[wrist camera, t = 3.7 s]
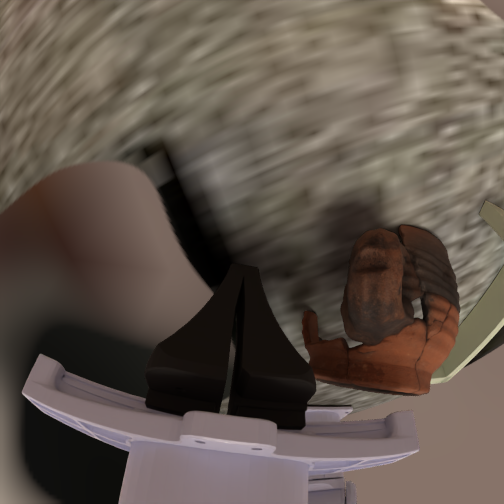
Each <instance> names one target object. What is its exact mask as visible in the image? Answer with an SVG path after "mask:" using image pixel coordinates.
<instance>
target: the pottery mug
mask: <svg viewBox="0 0 504 504" xmlns="http://www.w3.org/2000/svg"><path fill="white" fill-rule="evenodd" d="M399 235H400V237H401V239H402V244H401V243H400V241H399V238H398V236H397V235H396V234H395V233H393V232H390V231H387V230H385V229H383V228H379V229H376V230H369V231H366V232H365V233H364V234H363V235H362V236H361V237H360V238H359V239H358V240H357V241H356V243H355V245H354V247H353V250H352V253H351V257H350V260H349V271H348V278H347V284H346V286H345V290H344V297H343V302H342V304H341V315H342V318H343V322H344V329H345V332H346V334H347V335H348V337H349V338H351V339H352V340H354V341H358V342H362V343H363V344H361V345H358V346H355V347H352V348H349V346H348V344H347V342H346V340H345V339H344V338H337V339H333V340H322V339H321V338H320V337H319V336H318V324H317V315H316V314H315V313H313V312H310V311H305V312H304V318H303V320H302V325H303V330H302V334H303V338H304V343H305V348H306V349H307V351H308V353H309V355H310V361H309V365H310V366H311V367H312V369H313V373H314V377H315V379H316V380H318V381H320V382H323V383H327V384H333V385H336V386H340V387H346V388H352V389H357V390H362V391H368V392H375V393H383V394H392V395H403V396H419V395H422V394H427V393H429V390H430V382H431V377H432V374H433V373H434V372H435V371H436V370H437V369H438V368H439V367H440V366H441V365H442V363H443V362H444V361H445V360H446V359H447V357H448V356H449V354H450V351H451V350H452V348H453V347H454V345H455V342H456V341H455V339H456V336H457V334H458V332H459V330H458V322H459V313H460V305H459V294H458V292H457V287H458V286H457V284H456V276H455V274H454V272H453V269H452V267H451V264H450V261H449V259H448V253H447V250H446V248H445V247H444V245H443V244H442V242H441V241H440V240H439V239H437V238H436V237H435V236H434V235H432V234H431V233H429V232H427V231H425V230H422V229H418V228H415V227H412V226H406V225H401V226H400V227H399ZM419 297H420V299H421V305H422V312H423V319H420V318H414V308H413V306H412V304H411V301H413V300H415V299H417V298H419Z"/></svg>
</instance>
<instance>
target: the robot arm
mask: <svg viewBox="0 0 504 504" xmlns="http://www.w3.org/2000/svg"><path fill="white" fill-rule="evenodd" d="M236 313H237V327H236V352H235V361H234V368H233V375H232V383H231V390H230V397H229V404H228V411H227V415H224V414H219V411H220V406H221V402H222V397H223V393H224V388H225V383H226V378H227V369H228V361H229V352H230V344H231V336H232V329H233V325H234V321H235V317H236ZM144 375H145V378H146V381H147V384H148V387H149V390H148V393H147V397H146V399H144V398H141V397H137V396H134V395H130V394H127V393H124V392H121V391H118V390H114V389H112V388H109V387H106V386H103V385H100V384H97V383H95V382H92V381H89V380H87V379H84V378H81V377H79V376H76V375H74V374H71V373H69V372H67V371H65V369H64V368H63V366H62V365H61V364H60V363H59V362H57V361H55V360H53V359H51V358H49V357H46V356H44V355H42V354H40V355H39V357H38V359H37V361H36V363H35V365H34V367H33V369H32V371H31V373H30V375H29V377H28V379H27V382H26V384H25V386H24V388H23V391H22V394H23V395H24V396H25V397H26V398H27V399H29V400H30V401H31V402H32V403H33V404H34V405H36V406H37V407H38V408H39V409H40V410H41V411H43V412H44V413H45V414H47V415H49V416H51V417H53V418H55V419H57V420H59V421H61V422H63V423H65V424H67V425H69V426H71V427H73V428H75V429H77V430H79V431H81V432H83V433H85V434H87V435H89V436H92V437H94V438H96V439H99V440H101V441H103V442H105V443H108V444H110V445H113V446H116V447H118V448H121V449H124V450H126V451H129V452H130V453H129V457H128V461H127V466H126V470H125V475H124V479H123V484H122V489H121V494H120V499H119V504H357V500H356V499H357V498H356V485H355V484H354V483H352V482H351V481H346V497H345V479H344V474H343V473H344V472H345V471H351V470H357V469H363V468H369V467H374V466H379V465H384V464H389V463H393V462H395V461H398V460H400V459H403V458H405V457H407V456H409V455H412V454H414V453H416V452H418V451H419V450H420V447H419V441H418V435H417V430H416V424H415V419H414V414H413V411H412V410H407V411H399V412H394V413H391V414H390V415H388V416H387V417H386V418H384V419H374V420H361V421H343V422H340V420H341V419H342V418H344V417H345V416H346V415H348V414H349V413H350V412H351V411H352V410H353V407H307V402H308V401H309V400H310V398H311V397H312V396H313V395H314V394H315V392H316V381H315V377H314V373H313V369H312V367H311V366H310V365H309V364H308V363H307V362H306V361H305V360H304V359H303V358H302V357H301V355H300V354H299V353H298V352H297V351H296V349H295V348H294V347H293V345H292V344H291V343H290V341H289V340H288V338H287V337H286V336H285V334H284V332H283V331H282V329H281V328H280V326H279V324H278V322H277V320H276V319H275V317H274V315H273V313H272V310H271V308H270V306H269V303H268V301H267V298H266V296H265V293H264V290H263V287H262V283H261V279H260V275H259V269H258V268H257V267H252V266H246V265H240V264H234V263H233V264H231V265H230V268H229V270H228V273H227V275H226V276H225V278H224V280H223V282H222V283H221V285H220V286H219V288H218V289H217V291H216V292H215V293H214V295H213V296H212V297H211V299H210V300H209V301H208V302H207V303H206V305H205V306H204V307H203V308H202V309H201V310H200V311H199V312H198V313H197V314H196V315H195V316H194V317H193V318H192V319H191V320H190V321H189V322H188V323H187V324H185V325H184V326H183V327H182V328H180V329H179V330H178V331H177V332H175V333H174V334H173V335H171V336H170V337H168V338H167V339H165V340H164V341H162V342H160V343H159V344H158V345H157V346H156V348H155V349H154V351H153V353H152V354H151V356H150V358H149V360H148V362H147V366H146V369H145V372H144Z"/></svg>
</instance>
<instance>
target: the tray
mask: <svg viewBox="0 0 504 504" xmlns="http://www.w3.org/2000/svg"><path fill="white" fill-rule="evenodd" d="M479 215H480V216H481V217H482V218H483V219H484V220H485V221H486V222H487V223H488V224H489V225H490V226H491V227H492V229H493V230H494V231H495V232H496V233H497V234H498V235H499V236H500V237H501V238H502V240H503V241H504V210H503V209H501V208H499V207H497V206H496V205H494V204H492V203H490V202H488V201H486V200H485V202H484V205H483V207H482V209H481V211H480V213H479ZM503 325H504V266H503V267H502V269H501V271H500V272H499V274H498V275H497V277H496V278H495V280H494V281H493V283H492V284H491V286H490V287H489V288H488V290H487V291H486V293H485V294H484V295H483V297H482V298H481V299H480V301H479V302H478V303H477V305H476V306H475V307H474V309H473V310H472V311H471V312H470V314H469V315H468V316H467V317H466V319H465V320H464V321H463V322H462V323H461V325H460V326H459V327H458V330H459V332H458V334H457V336H456V339H455V341H456V342H455V345H454V347H453V348H452V350H451V351H450V354H449V356H448V357H447V359H446V360H445V361H444V362H443V363H442V365H441V366H440V367H439V368H438V369H437V370H436V371H435V372H434V373H433V374H432V377H431V382H430V384H435V383H443V382H447V381H448V380H449V379H451V378H452V377H453V376H454V375H455V374H456V373H457V372H458V371H460V370H461V369H462V368H463V367H464V366H465V365H466V364H467V363H468V362H469V361H470V360H471V359H472V358H473V357H474V356H475V355H476V354H477V353H478V352H479V351H480V350H481V349H482V348H483V347H484V346H485V345H486V344H487V343H488V342H489V341H490V340H491V339H492V338H493V337H494V335H495V334H496V333H497V332H498V331H499V330H500V329H501V327H502V326H503Z"/></svg>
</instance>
